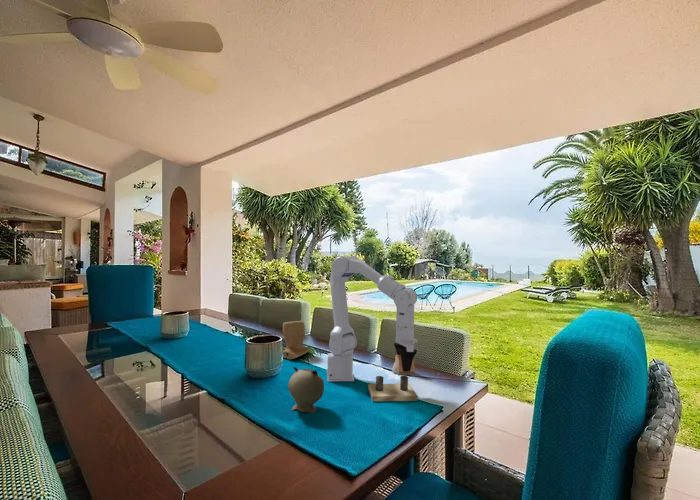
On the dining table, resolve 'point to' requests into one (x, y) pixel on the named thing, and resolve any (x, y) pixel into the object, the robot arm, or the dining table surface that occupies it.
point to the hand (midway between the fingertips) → (404, 368)
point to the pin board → (392, 390)
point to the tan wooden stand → (294, 339)
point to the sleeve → (399, 367)
